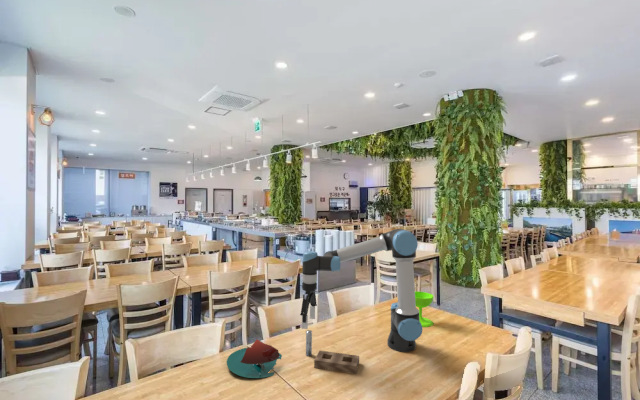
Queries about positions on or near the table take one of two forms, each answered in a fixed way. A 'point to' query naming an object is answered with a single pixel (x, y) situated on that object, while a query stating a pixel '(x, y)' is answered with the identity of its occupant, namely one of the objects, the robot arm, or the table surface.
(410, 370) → the table surface
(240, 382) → the table surface
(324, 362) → the socket block
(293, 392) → the table surface
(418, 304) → the wineglass
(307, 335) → the peg
